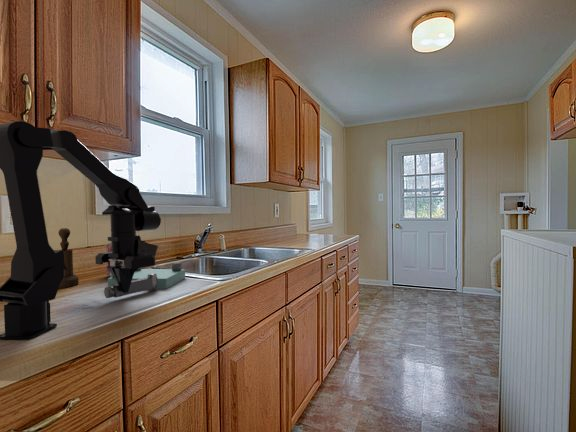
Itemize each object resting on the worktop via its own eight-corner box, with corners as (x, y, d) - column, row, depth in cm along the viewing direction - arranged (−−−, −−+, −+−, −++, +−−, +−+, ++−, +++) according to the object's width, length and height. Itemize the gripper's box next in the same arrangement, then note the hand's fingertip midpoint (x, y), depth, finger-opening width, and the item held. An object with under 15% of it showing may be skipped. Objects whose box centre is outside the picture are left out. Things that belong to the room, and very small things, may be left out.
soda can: (119, 278, 105) (118, 243, 105) (101, 277, 107) (100, 243, 106) (133, 274, 112) (132, 241, 112) (116, 273, 114) (116, 241, 113)
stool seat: (166, 288, 90) (166, 270, 90) (107, 288, 91) (107, 270, 91) (185, 277, 104) (184, 261, 104) (134, 277, 105) (133, 262, 105)
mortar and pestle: (47, 287, 93) (45, 228, 93) (65, 282, 100) (63, 227, 99) (66, 288, 92) (64, 228, 92) (83, 283, 99) (82, 227, 98)
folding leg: (153, 288, 90) (152, 273, 90) (159, 289, 88) (158, 274, 88) (104, 300, 78) (103, 283, 78) (110, 301, 77) (109, 284, 77)
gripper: (173, 230, 80) (175, 289, 81) (134, 230, 91) (135, 282, 91) (131, 233, 71) (133, 300, 71) (93, 232, 82) (95, 291, 82)
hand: (125, 292), depth 79 cm, fingers closed
